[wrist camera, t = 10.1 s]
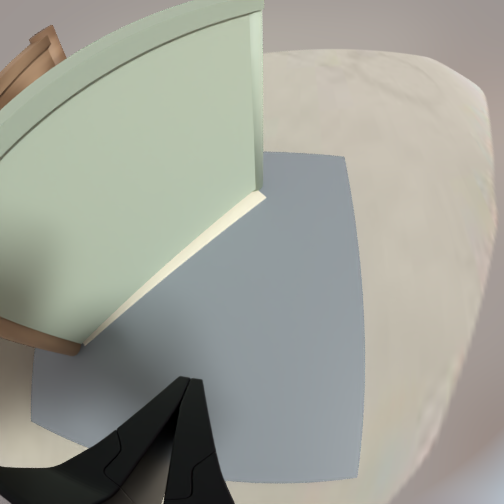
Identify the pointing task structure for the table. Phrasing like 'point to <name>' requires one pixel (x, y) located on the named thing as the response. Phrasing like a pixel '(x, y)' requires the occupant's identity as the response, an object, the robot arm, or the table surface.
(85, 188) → the panel
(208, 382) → the card
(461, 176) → the table surface
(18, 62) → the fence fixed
